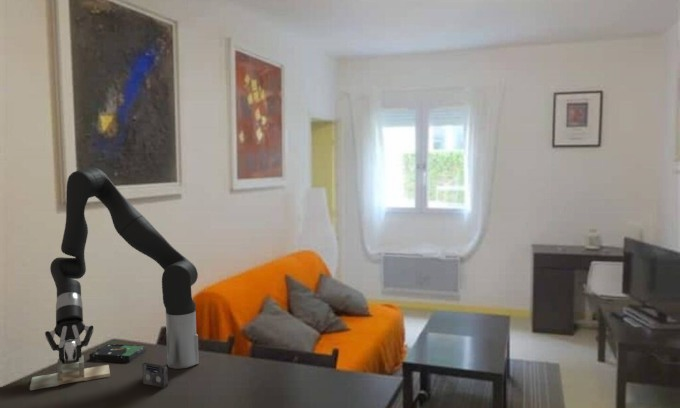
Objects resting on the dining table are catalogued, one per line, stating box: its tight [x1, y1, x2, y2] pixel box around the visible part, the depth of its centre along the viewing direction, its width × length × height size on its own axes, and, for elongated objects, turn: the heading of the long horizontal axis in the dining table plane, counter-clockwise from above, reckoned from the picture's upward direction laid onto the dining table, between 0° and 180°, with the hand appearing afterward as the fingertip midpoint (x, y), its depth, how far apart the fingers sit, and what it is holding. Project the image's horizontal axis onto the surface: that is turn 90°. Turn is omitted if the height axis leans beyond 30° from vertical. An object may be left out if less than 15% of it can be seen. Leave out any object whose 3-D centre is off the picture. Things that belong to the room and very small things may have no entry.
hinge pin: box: [64, 340, 76, 364], centre depth 155 cm, size 3×3×10 cm
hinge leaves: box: [29, 354, 111, 391], centre depth 155 cm, size 21×8×6 cm, turn 117°
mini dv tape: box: [141, 362, 169, 389], centre depth 150 cm, size 8×2×6 cm, turn 65°
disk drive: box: [89, 343, 147, 363], centre depth 174 cm, size 10×3×15 cm
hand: (70, 359), depth 153 cm, fingers open, 3 cm apart
